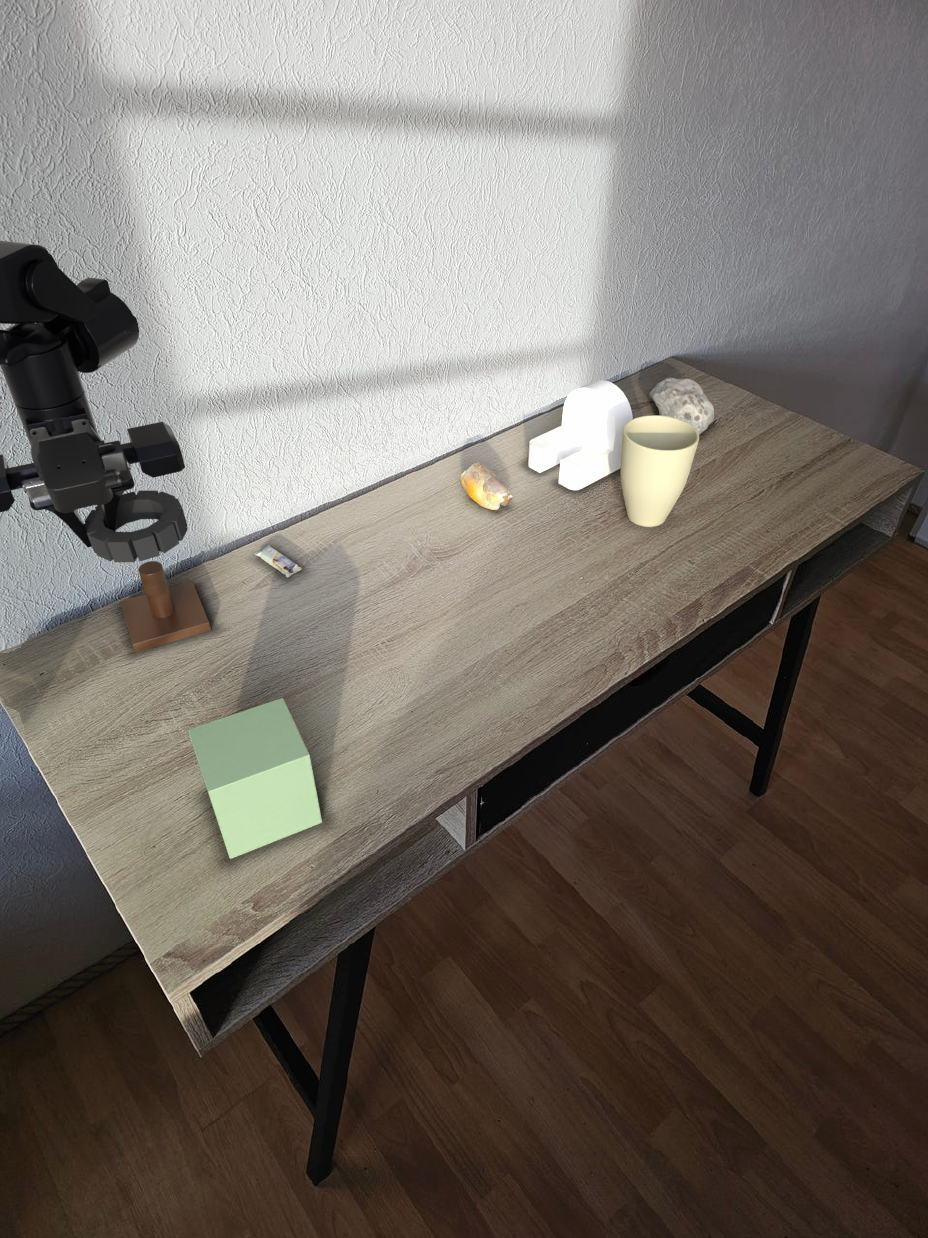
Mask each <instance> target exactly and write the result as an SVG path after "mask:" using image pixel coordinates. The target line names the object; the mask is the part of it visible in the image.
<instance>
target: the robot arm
mask: <svg viewBox="0 0 928 1238" xmlns="http://www.w3.org/2000/svg"><path fill="white" fill-rule="evenodd" d="M0 324H1V325H11V326H9V327H7V328H5V329H0V370H1V372H2V374H3V377H4V380H5V383H6V385H7V388H8V390H9V392H10V395H11V398H12V401H13V404H14V406H15V409H16V411H17V414H18V416H19V419H20V422H21V424H22V427H23V429H24V433H25V435H26V438H27V440H28V443H29V446H30V455H31V459H32V462H31V463H24V464H20V465H16V466H11V467H9V464H8V461H7V459H6V457H5V455H4V454H3V453H2V454H0V513H4V512H8V511H10V509H11V508H12V506H13V505H14V503H15V501H16V499H15V496H14V494H13V491H15V490H20V489H23V491H24V494H27V497H28V502H29V505H30V508H31V510H33V511H42V510H43V511H44V510H46V511H49V512H51V513H53V514H54V515H55V516H57V517H58V518H59V519H60V520H61V521H63V522H64V523H65V525H66V526H67V527H68V528H69V529H70V530H71V531H72V532H73V533H74V534H75V535H76V537H78V539H79V540H80V541H81V542H82V543H83V544H84V545H85V546H86V548H92V545H91V543H90V540H89V538H88V535H87V532H86V529H85V526H84V524H85V522H84V520H83V518H82V517H81V515H80V512H79V511H78V510H80V509H85V508H89V507H93V506H100V505H102V511H103V516H104V521H105V525H106V528H108V529H111V530H113V531H115V532H117V530H116V524H117V512H118V506H119V502H120V498H121V495H122V494H125V492H127V491H129V490H132V489H133V488H134V487H135V485H136V483H135V480H134V478H133V475H132V473H131V470H132V467H131V465H134V464H137V463H138V464H139V467H140V470H141V473H143V474H144V475H147V476H149V477H150V478H158V477H162V476H166V475H172V474H176V473H179V472H183V470H184V469H185V468H186V465H185V460H184V457H183V452H182V449H181V446H180V444H179V442H178V439H177V438H176V436H175V434H174V432H173V429H172V427H171V426H170V425H168V424H167V423H166V422H164V421H159V422H154V423H148V424H144V425H139V426H133V427H129V428H126V431H127V435H128V438H129V442H125V443H121V441H120V440H113V441H109V442H105V440H104V439H102V438H101V437H100V435H99V431H98V427H97V426H96V422H95V419H94V416H93V411H92V410H91V406H90V403H89V400H88V396H87V394H86V391H85V387H84V385H83V381H82V378H81V374H80V373H82V374H89V373H93V372H96V371H98V370H99V369H101V368H102V367H104V366H106V365H107V364H108V363H110V362H112V361H113V360H115V359H116V358H118V357H120V356H122V354H124V353H127V351H129V350H130V349H132V348H133V347H134V346H135V345H136V344H137V343H138V340H139V337H140V327H139V322H138V319H137V317H136V316H135V315H134V313H133V312H132V311H131V309H130V307H129V306H128V305H127V304H126V302H125V301H124V300H122V298H120V297H119V296H117V295H116V294H115V293H113V292H112V291H111V288H110V284H109V280H107V279H104V278H97V277H86V278H84V279H82V280H81V281H79V282H78V283H77V284H76V283H75V282H74V281H73V280H72V279H71V278H70V277H69V276H68V275H67V274H66V273H65V272H64V271H63V270H62V269H60V267H59V265H58V263H57V262H56V260H55V258H54V257H53V255H52V254H51V253H50V252H49V250H48V248H46V246H43V245H40V244H33V243H24V242H16V241H8V240H0Z"/></svg>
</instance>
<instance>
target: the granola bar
mask: <svg viewBox="0 0 928 1238" xmlns="http://www.w3.org/2000/svg"><path fill="white" fill-rule="evenodd" d="M254 555H255V556H257V557H260V558H261V560H263V561H264V562H265V563H267V564H268V565H270V566H271V567H272V568H274V569H276V570H278V571H279V572H280V573H282V575H285V578H287V579H288V578H290V577H291V576H293V575H295V574H296V573H298V572H300V571H302V570H303V568H302V567H300V566H299V565H298V564H297V563H295V562H294V561H293V560H291V559H290V558H289V557H287V556H285V555H284V554H283V553H281V552H280V551H278V550H277V549H275V548H274V547H272V546H271V545H267V546H265V547H264V548H263V549H261V550H259V551H257V552H255V553H254Z"/></svg>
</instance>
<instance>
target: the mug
mask: <svg viewBox="0 0 928 1238" xmlns="http://www.w3.org/2000/svg"><path fill="white" fill-rule="evenodd" d="M699 441H700V434H699V433H698V431H697V430H696V429H695V428H694V427H693V426H692V425H690V424H689V423H687V422H685V421H682V420H680V419H677V418H673V417H668V416H660V414H657V415H656V414H655V415H654V414H653V415H652V414H651V415H642V416H638V417H635V418H634V417H633V419H632V420H630V421H629V422H627V423H626V424H625V426H624V428H623V439H622V454H621V468H620V483H621V491H622V497H623V500H624V505H625V511H626V515H627V518H628V520H629V521H630V522H631V523H633V524H635V525H637V526H640V527H644V528H645V527H646V528H654V527H658V526H660V525H663V524H664V522H665V521H666V520H667V518H668V516H669V515H670V513H671V512H672V510H673V508H674V506H675V504H676V503H677V501H678V499H679V498H680V496H681V494H682V493H683V491H684V488H685V486H686V485H687V484H686V483H687V482H688V480H689V479H688V478H689V476H690V472H691V470H692V469H691V468H692V465H693V462H694V458H695V455H696V453H697V452H696V451H697V448H698V445H699Z"/></svg>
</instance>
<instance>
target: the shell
mask: <svg viewBox="0 0 928 1238" xmlns="http://www.w3.org/2000/svg"><path fill="white" fill-rule="evenodd" d="M460 484H461V486H462V488H463V490H464V491H465V492H466V493H467V495H468V496H469V498H470V499H472V501H474V502H475V503H477V504H478V505H479V506H481V507H482V508H485V509H487V510H492V511H498V510H499V508H500V506H503V507H506V506H508V505H509V504H510V502H511V501H512V500H513V497H514V496H513V494H512V493H511V492H510V490H509V488H508V487H507V486H506V484H505V483H503V481H502V479H500V478H499V477H498V476H497V475H496V474H495V473H494V471H492V469H490V468H489V467H487V466H485V465H484V464H482V463H481V462H473V464H471V465H470V466H469V467H467V469H466V470H464V471H463V472H462V473H460Z"/></svg>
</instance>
